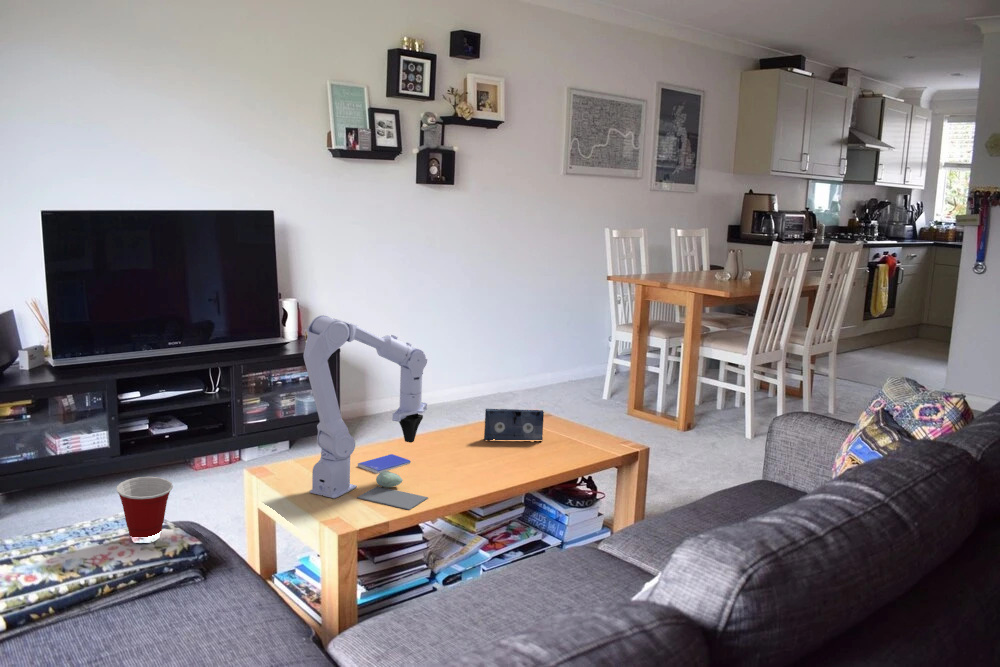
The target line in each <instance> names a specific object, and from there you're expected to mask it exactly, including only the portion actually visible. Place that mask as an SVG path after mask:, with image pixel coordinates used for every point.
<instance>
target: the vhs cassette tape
mask: <svg viewBox="0 0 1000 667" xmlns="http://www.w3.org/2000/svg"><path fill="white" fill-rule="evenodd" d="M544 414H545V411H544V410H543V409H542V410H540V409H538V410H537V409H517V408H515V409H513V408H512V409H509V408H500V409H499V408H485V414H484V434H483V439H485V440H493V439H495V440H542V441H543V436H544V434H543V433H544V431H543V430H544ZM485 440H484V441H485Z"/></svg>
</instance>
